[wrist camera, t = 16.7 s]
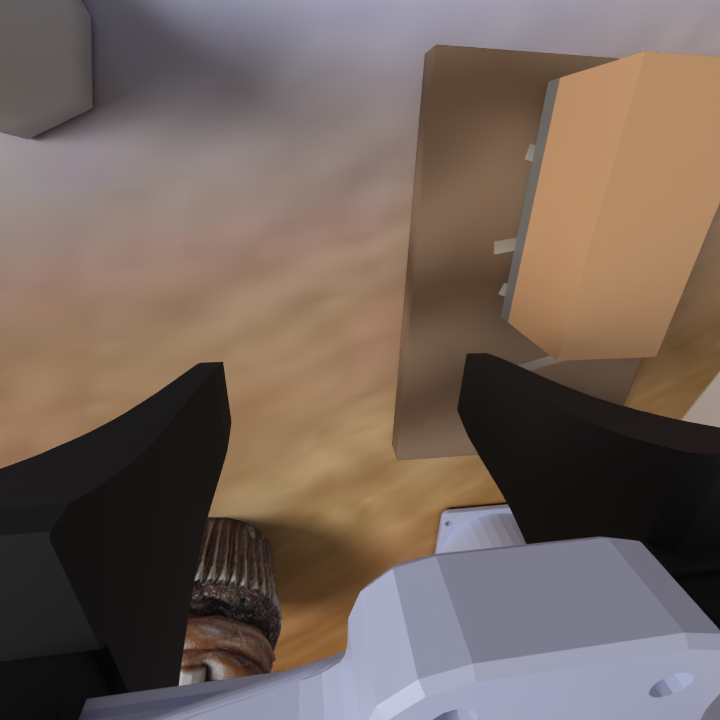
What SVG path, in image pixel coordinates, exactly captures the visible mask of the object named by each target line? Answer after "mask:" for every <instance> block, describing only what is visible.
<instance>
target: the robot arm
mask: <svg viewBox="0 0 720 720" xmlns="http://www.w3.org/2000/svg"><path fill="white" fill-rule="evenodd" d="M457 411H458V413H459V416H460V418H461V421H462V424H463V426H464V428H465V431H466V433H467V435H468V437H469V439H470V441H471V443H472V444H473V446H474V448H475V449H476V451H477V453H478V455H479V456H480V458H481V460H482V461H483V463H484V465H485V466H486V468H487V469H488V471H489V473H490V474H491V476H492V478H493V479H494V481H495V483H496V484H497V486H498V488H499V489H500V491H501V493H502V494H503V496H504V498H505V500H506V502H507V504H505V505H494V506H483V507H472V508H460V509H449V510H446V511H444V512H443V513H442V515H441V520H440V526H439V532H438V538H437V543H436V549H435V554H431V555H428V556H424V557H421V558H417V559H413V560H410V561H406V562H403V563H399V564H396V565H394V566H392V567H391V568H390V569H388V570H387V571H385V572H384V573H383V574H381V575H380V576H379V577H377V578H376V579H374V580H373V581H372V582H370V583H369V584H368V585H366V586H365V587H364V588H363V589H362V590H361V592H360V593H359V596H358V598H357V600H356V602H355V605H354V607H353V609H352V611H351V614H350V616H349V618H348V645H347V649H346V651H344V652H341V653H338V654H335V655H332V656H329V657H326V658H323V659H320V660H317V661H314V662H311V663H308V664H305V665H302V666H300V667H297V668H294V669H291V670H288V671H281V672H274V673H267V674H260V675H253V676H246V677H238V678H231V679H224V680H217V681H210V682H203V683H196V684H188V685H181V686H179V680H180V672H181V664H182V657H183V651H184V644H185V637H186V630H187V624H188V617H189V610H190V604H191V599H192V593H193V587H194V581H195V575H196V569H197V564H198V558H199V553H200V547H201V542H202V537H203V532H204V528H205V524H206V520H207V517H208V513H209V510H210V507H211V504H212V500H213V497H214V494H215V490H216V487H217V484H218V481H219V477H220V474H221V471H222V467H223V464H224V460H225V457H226V453H227V449H228V442H229V436H230V429H231V416H230V409H229V402H228V395H227V388H226V381H225V373H224V366H223V362H208V363H199V364H197V365H196V366H194V367H193V368H191V369H190V370H188V371H187V372H185V373H184V374H183V375H181V376H180V377H178V378H177V379H176V380H174V381H173V382H171V383H170V384H169V385H167V386H166V387H164V388H163V389H162V390H160V391H159V392H157V393H156V394H154V395H153V396H151V397H150V398H148V399H147V400H145V401H143V402H142V403H140V404H139V405H137V406H136V407H134V408H132V409H131V410H129V411H128V412H126V413H124V414H123V415H121V416H119V417H117V418H116V419H114V420H112V421H110V422H108V423H107V424H105V425H103V426H101V427H99V428H97V429H95V430H93V431H91V432H89V433H87V434H85V435H83V436H81V437H78V438H76V439H74V440H71V441H69V442H67V443H65V444H62V445H60V446H58V447H55V448H53V449H51V450H48V451H46V452H44V453H42V454H39V455H37V456H34V457H31V458H29V459H26V460H23V461H21V462H18V463H15V464H13V465H10V466H7V467H4V468H1V469H0V720H720V428H718V427H714V426H708V425H702V424H697V423H691V422H686V421H682V420H677V419H672V418H668V417H663V416H659V415H655V414H651V413H647V412H643V411H639V410H635V409H632V408H628V407H625V406H621V405H618V404H615V403H612V402H609V401H605V400H602V399H599V398H596V397H593V396H590V395H587V394H585V393H582V392H579V391H577V390H574V389H572V388H569V387H567V386H564V385H562V384H559V383H557V382H554V381H552V380H550V379H547V378H545V377H543V376H540V375H538V374H536V373H534V372H531V371H529V370H527V369H525V368H523V367H520V366H518V365H516V364H514V363H511V362H509V361H507V360H504V359H502V358H499V357H497V356H494V355H491V354H488V353H470V354H466V360H465V366H464V372H463V378H462V384H461V390H460V396H459V402H458V408H457Z"/></svg>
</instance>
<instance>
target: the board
mask: <svg viewBox="0 0 720 720" xmlns="http://www.w3.org/2000/svg"><path fill="white" fill-rule="evenodd" d="M616 60H619V59H617V58H604V57H591V56H578V55H565V54H552V53H539V52H526V51H513V50H500V49H487V48H473V47H460V46H447V45H435V46H434V47H433V48H432V49H430V50H429V51H428V52H427V53H426V54H425V60H424V72H423V83H422V95H421V107H420V119H419V131H418V143H417V155H416V167H415V179H414V191H413V202H412V214H411V226H410V238H409V250H408V262H407V274H406V286H405V298H404V309H403V321H402V333H401V345H400V357H399V369H398V381H397V393H396V405H395V417H394V428H393V440H392V446H393V449H394V452H395V455H396V458H397V460H411V459H425V458H439V457H453V456H467V455H478V453H477V451H476V449H475V448H474V446H473V444H472V443H471V441H470V439H469V437H468V435H467V433H466V431H465V428H464V426H463V424H462V421H461V418H460V416H459V413H458V411H457V408H458V402H459V396H460V390H461V384H462V378H463V372H464V366H465V360H466V354H470V353H488V354H491V355H494V356H497V357H499V358H502V359H504V360H507V361H509V362H511V363H514V364H516V365H518V366H520V367H523V368H525V369H527V370H529V371H531V372H534V373H536V374H538V375H540V376H543V377H545V378H547V379H550V380H552V381H554V382H557V383H559V384H562V385H564V386H567V387H569V388H572V389H574V390H577V391H579V392H582V393H585V394H587V395H590V396H593V397H596V398H599V399H602V400H605V401H609V402H612V403H615V404H618V405H621V406H623V405H624V403H625V400H626V397H627V395H628V392H629V390H630V387H631V385H632V382H633V380H634V377H635V375H636V372H637V370H638V367H639V364H640V362H641V359H642V358H618V359H591V360H564V361H556V360H555V359H554V358H553V357H551V356H550V355H549V354H547V353H546V352H545V351H544V350H542V349H541V348H540V347H539V346H537V345H536V344H535V343H533V342H532V341H531V340H530V339H528V338H527V337H526V336H524V335H523V334H522V333H521V332H519V331H518V330H517V329H515V328H514V327H513V326H512V325H510V324H509V323H508V322H507V321H505V320H504V319H503V318H501V313H502V308H503V303H504V298H505V293H506V288H507V283H508V278H509V273H510V268H511V263H512V258H513V253H514V249H515V244H516V239H517V234H518V229H519V224H520V219H521V214H522V209H523V204H524V199H525V194H526V189H527V185H528V180H529V175H530V170H531V165H532V160H533V155H534V150H535V145H536V140H537V135H538V130H539V125H540V120H541V116H542V111H543V106H544V101H545V96H546V91H547V86H548V81H551V80H555V79H558V78H561V77H564V76H568V75H571V74H574V73H577V72H580V71H584V70H587V69H590V68H593V67H596V66H600V65H603V64H606V63H609V62H613V61H616Z"/></svg>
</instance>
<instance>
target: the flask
mask: <svg viewBox="0 0 720 720" xmlns="http://www.w3.org/2000/svg"><path fill="white" fill-rule="evenodd" d="M92 108H93V96H92V26H91V16H90V14H89V12H88V10H87V9H86V7H85V5H84V3H83V2H82V0H0V132H2V133H6V134H10V135H14V136H17V137H21V138H25V139H29V138H32V137H34V136H36V135H38V134H40V133H42V132H44V131H46V130H48V129H50V128H53V127H55V126H57V125H59V124H61V123H63V122H65V121H67V120H69V119H71V118H73V117H76V116H78V115H80V114H82V113H84V112H86V111H88V110H90V109H92Z"/></svg>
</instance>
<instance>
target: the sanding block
mask: <svg viewBox="0 0 720 720" xmlns="http://www.w3.org/2000/svg"><path fill="white" fill-rule="evenodd" d="M719 203H720V57H710V56H698V55H685V54H673V53H661V52H648V51H645V52H641V53H638V54H635V55H632V56H629V57H625V58H622V59H619V60H616V61H613V62H609V63H606V64H603V65H600V66H596V67H593V68H590V69H587V70H584V71H580V72H577V73H574V74H571V75H568V76H564V77H561V78H558V79H555V80H551V81H548V86H547V91H546V96H545V101H544V106H543V111H542V116H541V120H540V125H539V130H538V135H537V140H536V145H535V150H534V155H533V160H532V165H531V170H530V175H529V180H528V185H527V189H526V194H525V199H524V204H523V209H522V214H521V219H520V224H519V229H518V234H517V239H516V244H515V249H514V253H513V258H512V263H511V268H510V273H509V278H508V283H507V288H506V293H505V298H504V303H503V308H502V313H501V318H503V319H504V320H505V321H507V322H508V323H509V324H510V325H512V326H513V327H514V328H515V329H517V330H518V331H519V332H521V333H522V334H523V335H524V336H526V337H527V338H528V339H530V340H531V341H532V342H533V343H535V344H536V345H537V346H539V347H540V348H541V349H542V350H544V351H545V352H546V353H547V354H549V355H550V356H551V357H553V358H554V359H555V360H556V361H564V360H591V359H618V358H644V357H656V356H657V354H658V351H659V349H660V346H661V344H662V342H663V339H664V337H665V334H666V332H667V329H668V327H669V325H670V322H671V320H672V317H673V315H674V312H675V310H676V308H677V305H678V303H679V300H680V298H681V295H682V293H683V291H684V288H685V286H686V283H687V281H688V278H689V276H690V274H691V271H692V269H693V266H694V264H695V261H696V259H697V256H698V254H699V252H700V249H701V247H702V244H703V242H704V239H705V237H706V235H707V232H708V230H709V227H710V225H711V222H712V220H713V218H714V215H715V213H716V210H717V208H718V205H719Z"/></svg>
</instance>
